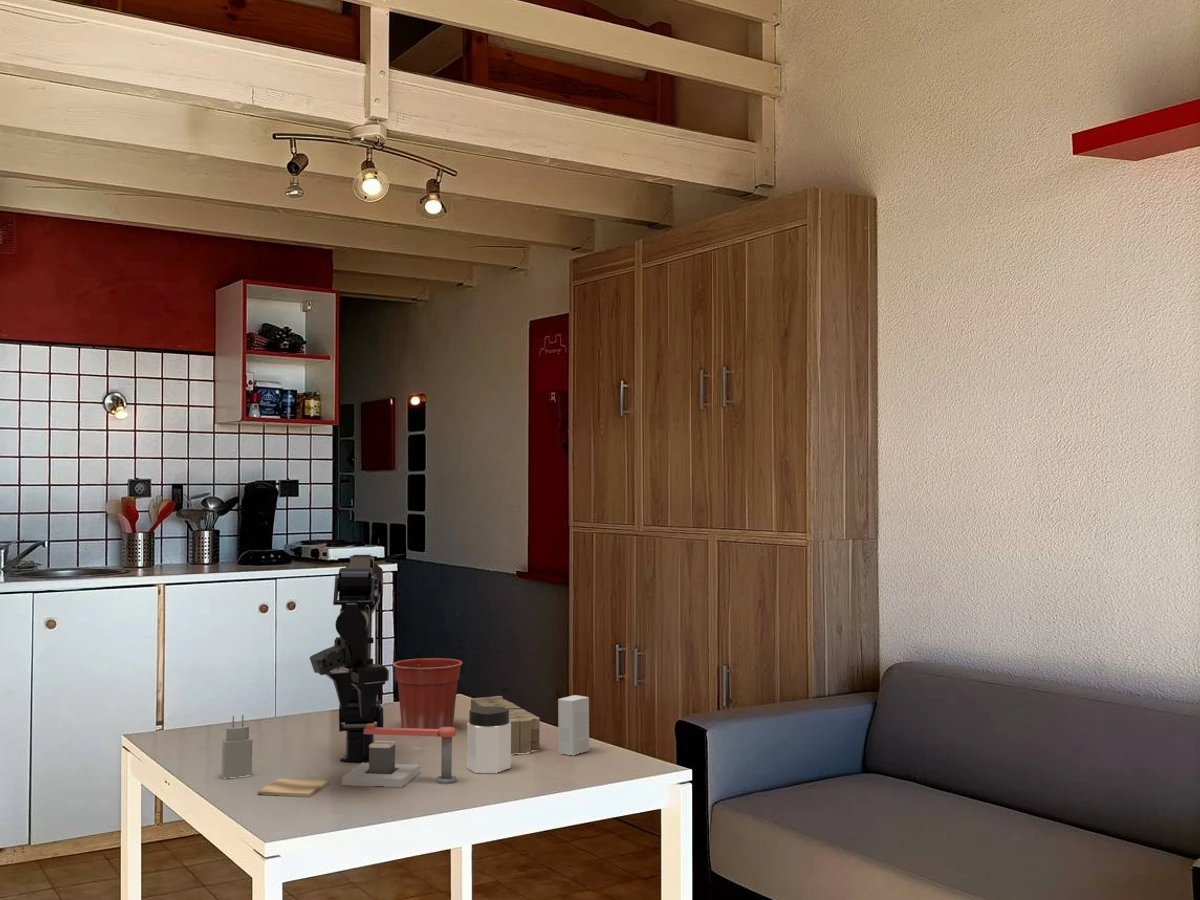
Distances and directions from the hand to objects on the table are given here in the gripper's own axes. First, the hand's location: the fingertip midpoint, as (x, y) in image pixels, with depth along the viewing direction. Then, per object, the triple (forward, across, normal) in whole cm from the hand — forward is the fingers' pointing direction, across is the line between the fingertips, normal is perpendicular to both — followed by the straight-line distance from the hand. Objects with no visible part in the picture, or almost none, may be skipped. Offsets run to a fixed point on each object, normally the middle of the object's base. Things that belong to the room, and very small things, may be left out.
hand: (353, 712), depth 220 cm
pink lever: (+5, +5, +10) cm, 12 cm away
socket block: (+13, +4, +9) cm, 17 cm away
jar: (+14, +6, +27) cm, 31 cm away
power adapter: (+14, -17, -17) cm, 28 cm away
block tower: (+15, -15, +44) cm, 49 cm away
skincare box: (+14, +4, +50) cm, 52 cm away
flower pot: (+15, -36, +35) cm, 52 cm away
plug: (+13, +1, +6) cm, 15 cm away
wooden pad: (+13, -1, -11) cm, 18 cm away
